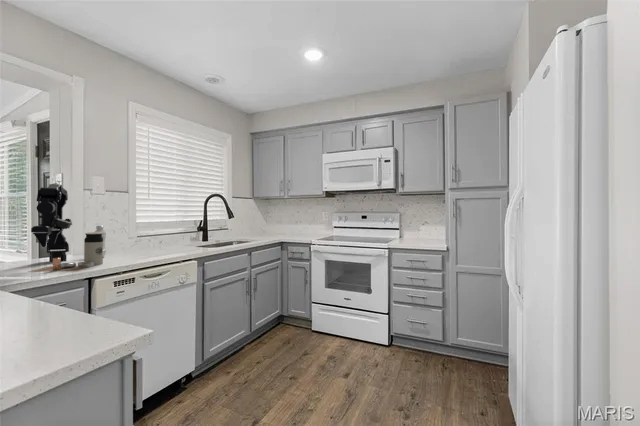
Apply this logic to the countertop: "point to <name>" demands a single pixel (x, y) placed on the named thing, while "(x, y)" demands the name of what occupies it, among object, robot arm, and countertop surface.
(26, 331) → the countertop surface
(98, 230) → the plastic bottle
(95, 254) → the travel mug
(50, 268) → the stand
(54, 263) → the grey ball copper handle
